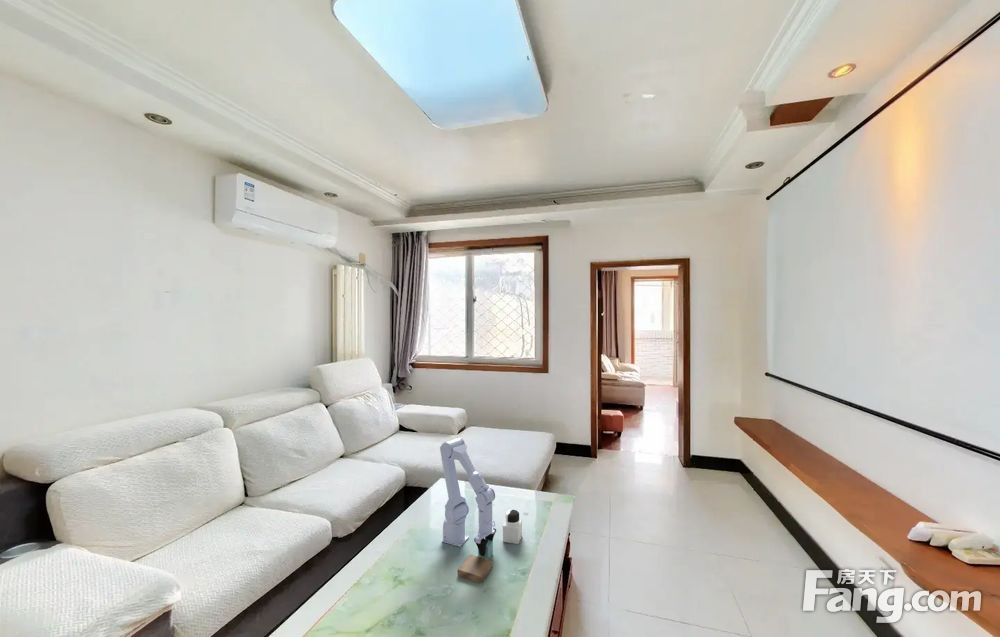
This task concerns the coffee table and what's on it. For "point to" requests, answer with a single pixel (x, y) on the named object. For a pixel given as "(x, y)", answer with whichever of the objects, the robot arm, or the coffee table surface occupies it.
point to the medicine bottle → (512, 527)
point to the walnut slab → (475, 568)
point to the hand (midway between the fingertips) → (485, 551)
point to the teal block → (487, 550)
